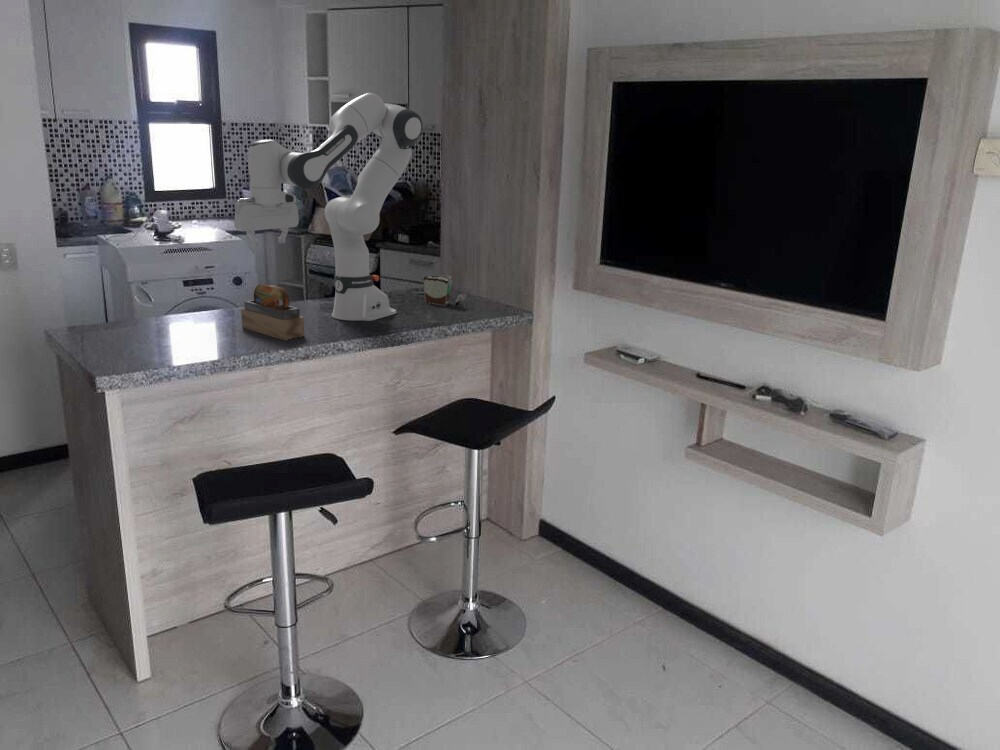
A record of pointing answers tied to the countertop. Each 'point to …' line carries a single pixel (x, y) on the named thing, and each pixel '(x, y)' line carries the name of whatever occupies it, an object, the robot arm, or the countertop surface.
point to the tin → (271, 297)
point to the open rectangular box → (273, 320)
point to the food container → (437, 289)
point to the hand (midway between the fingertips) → (268, 244)
